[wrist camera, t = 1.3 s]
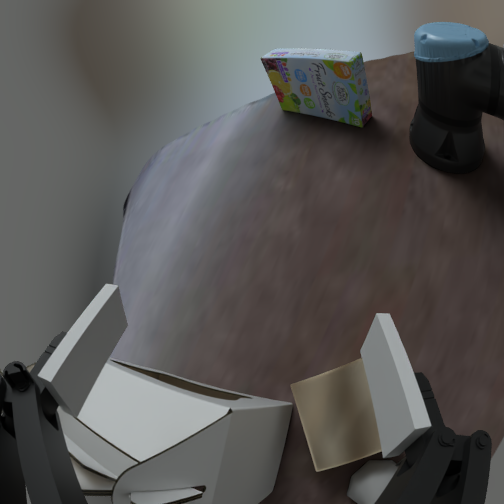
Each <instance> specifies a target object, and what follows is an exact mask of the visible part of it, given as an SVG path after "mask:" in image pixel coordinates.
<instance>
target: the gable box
mask: <svg viewBox="0 0 504 504" xmlns="http://www.w3.org/2000/svg"><path fill="white" fill-rule="evenodd" d="M35 364H36V363H34V364H32V365H30V366H27V367H26V368H27V370H28V372H30V371H31V370H32V368H33V367H34V365H35ZM0 373H1V375H2V374H3V372H2V371H1V370H0ZM3 378H4V377H3ZM292 408H293V404H292V403H289V402H283V401H277V400H271V399H266V398H261V397H256V396H251V395H246V394H242V393H238V392H233V391H229V390H225V389H221V388H217V387H213V386H209V385H206V384H202V383H199V382H195V381H192V380H188V379H185V378H182V377H178V376H175V375H172V374H169V373H166V372H163V371H160V370H155V369H151V368H147V367H143V366H139V365H135V364H131V363H127V362H124V361H120V360H117V359H113V358H110V357H109V359H108V360H107V362H106V364H105V366H104V367H103V369H102V371H101V373H100V375H99V377H98V378H97V380H96V382H95V384H94V386H93V388H92V390H91V391H90V393H89V395H88V397H87V399H86V401H85V403H84V405H83V407H82V409H81V411H80V413H79V415H78V417H77V418H76V417H73V416H71V415H69V414H67V413H65V412H64V411H63V410H62V409H61V408H60V406H58V408H57V412H58V414H59V418H60V422H61V426H62V430H63V434H64V438H65V441H66V445H67V448H68V452H69V455H70V458H71V461H72V464H73V467H74V470H75V473H76V476H77V478H78V481H79V484H80V486H81V489H82V491H83V494H84V496H111V501H112V504H258V503H259V502H261V501H262V500H263V499H264V498H265V497H267V496H268V495H269V494H270V493H271V492H272V491H273V488H274V485H275V481H276V477H277V473H278V469H279V465H280V461H281V457H282V453H283V449H284V445H285V440H286V436H287V432H288V427H289V423H290V418H291V413H292ZM2 413H3V411H2ZM129 455H131V456H132V457H131V456H129ZM133 457H134V458H136V459H137V460H139V461H141V462H139V461H137V460H136V459H134V458H133ZM202 485H204V489H203V491H198V490H196V489H194V488H191V487H195V486H202Z"/></svg>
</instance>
